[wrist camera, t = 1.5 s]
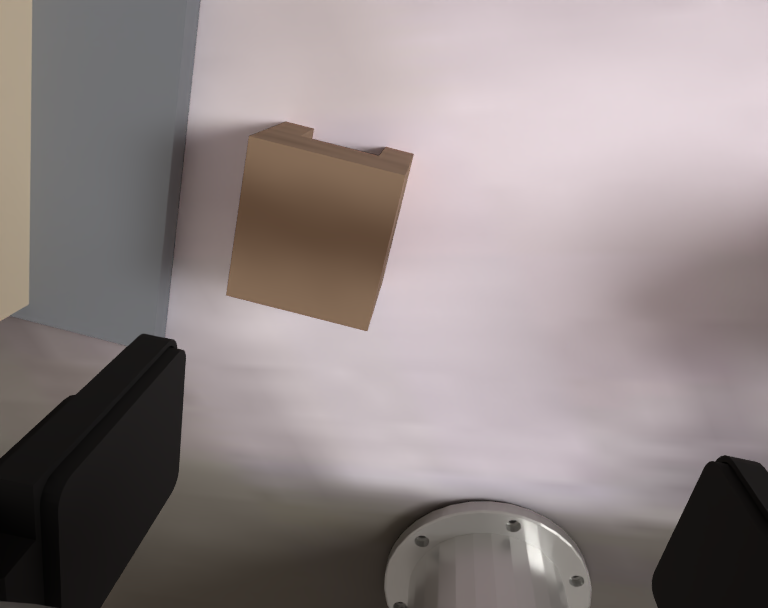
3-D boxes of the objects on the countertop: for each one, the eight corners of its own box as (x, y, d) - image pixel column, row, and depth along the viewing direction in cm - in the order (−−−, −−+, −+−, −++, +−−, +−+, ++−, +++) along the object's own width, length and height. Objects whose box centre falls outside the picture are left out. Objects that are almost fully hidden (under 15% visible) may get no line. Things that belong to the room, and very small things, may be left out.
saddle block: (381, 285, 33) (367, 331, 27) (264, 255, 33) (226, 295, 27) (413, 153, 30) (405, 175, 25) (286, 121, 30) (249, 135, 25)
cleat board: (164, 340, 35) (130, 373, 32) (-108, 271, 36) (-173, 296, 32) (205, -52, 28) (168, -69, 24) (-140, -139, 28) (-231, -169, 24)
